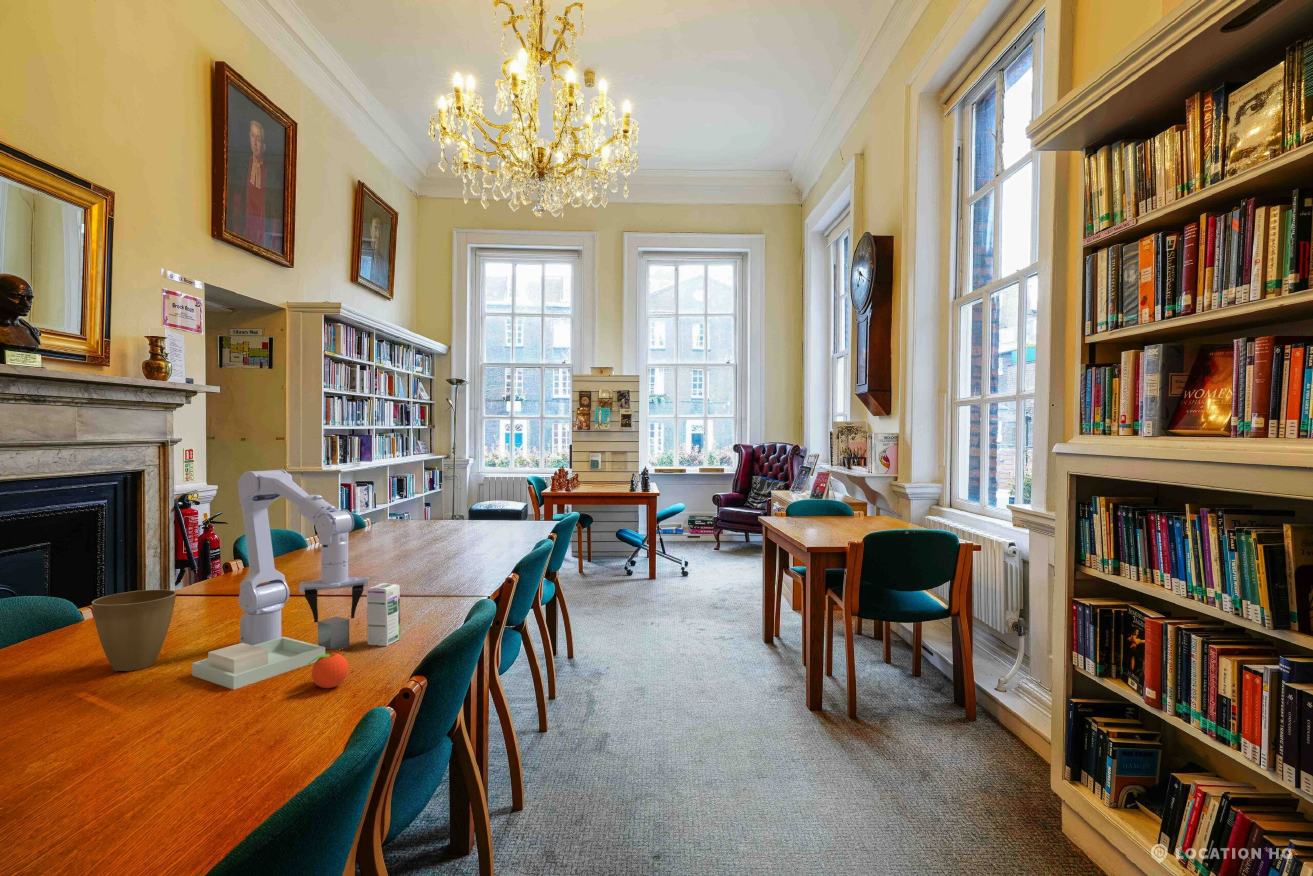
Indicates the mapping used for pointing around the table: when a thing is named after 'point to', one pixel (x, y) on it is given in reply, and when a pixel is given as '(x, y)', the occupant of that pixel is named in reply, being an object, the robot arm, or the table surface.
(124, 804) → the table surface
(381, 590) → the syrup box
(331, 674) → the clementine
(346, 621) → the tin
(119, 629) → the plant pot
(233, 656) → the off-white block
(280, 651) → the pale green tray
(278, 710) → the table surface
